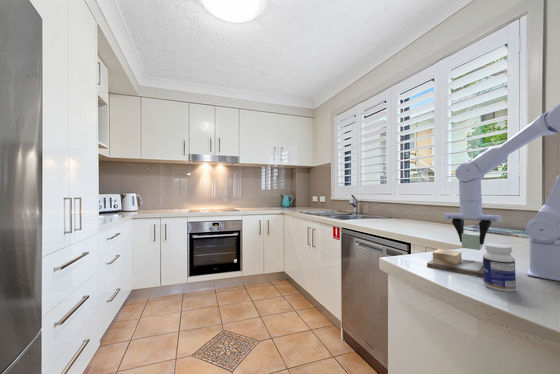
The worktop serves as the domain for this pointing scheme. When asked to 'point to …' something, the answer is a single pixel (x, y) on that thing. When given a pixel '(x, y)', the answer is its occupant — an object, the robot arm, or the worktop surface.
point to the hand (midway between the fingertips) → (471, 242)
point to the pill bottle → (499, 267)
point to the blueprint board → (455, 263)
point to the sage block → (471, 241)
